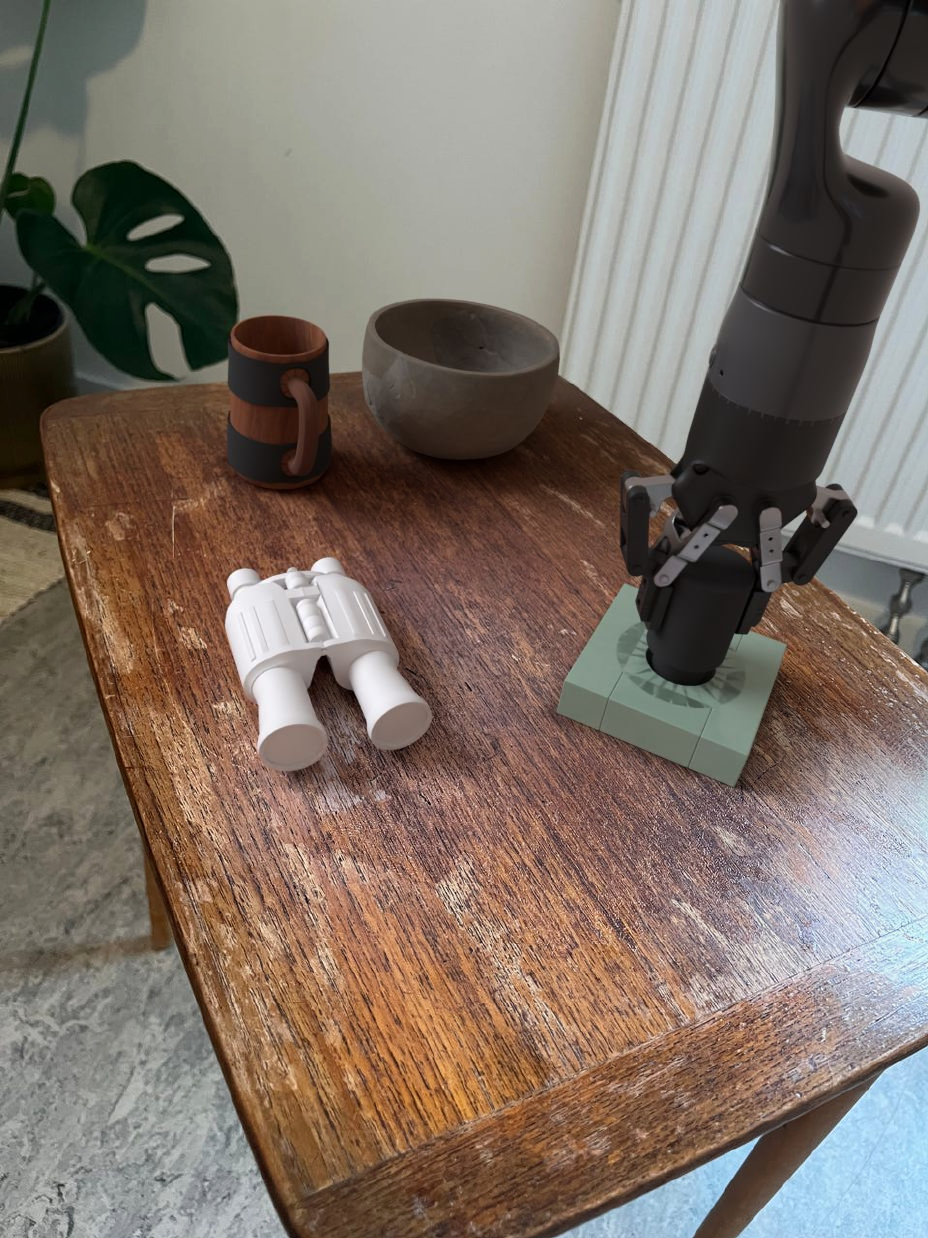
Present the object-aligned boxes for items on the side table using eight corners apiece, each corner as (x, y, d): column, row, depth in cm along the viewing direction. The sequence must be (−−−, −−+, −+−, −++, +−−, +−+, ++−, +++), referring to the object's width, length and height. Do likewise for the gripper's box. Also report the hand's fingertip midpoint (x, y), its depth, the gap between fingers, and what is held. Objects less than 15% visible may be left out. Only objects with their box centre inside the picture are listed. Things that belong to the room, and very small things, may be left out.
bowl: (470, 376, 99) (482, 280, 92) (583, 459, 89) (605, 357, 82) (321, 408, 90) (324, 304, 84) (428, 504, 80) (440, 394, 73)
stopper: (722, 667, 66) (763, 559, 60) (702, 714, 62) (744, 604, 56) (650, 639, 67) (683, 531, 61) (626, 683, 63) (660, 573, 57)
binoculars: (260, 783, 56) (258, 727, 53) (210, 610, 67) (206, 555, 64) (430, 747, 59) (437, 693, 56) (356, 588, 70) (359, 536, 67)
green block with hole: (773, 675, 68) (787, 644, 66) (734, 788, 60) (748, 755, 58) (615, 614, 71) (624, 582, 70) (556, 713, 63) (564, 679, 61)
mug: (258, 523, 75) (255, 386, 67) (215, 447, 83) (208, 316, 75) (361, 505, 78) (368, 373, 71) (310, 433, 86) (312, 307, 79)
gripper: (664, 404, 47) (594, 660, 58) (937, 425, 49) (820, 669, 60) (633, 338, 53) (574, 582, 63) (879, 359, 54) (781, 592, 65)
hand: (693, 623), depth 61 cm, fingers closed on stopper, 5 cm apart
